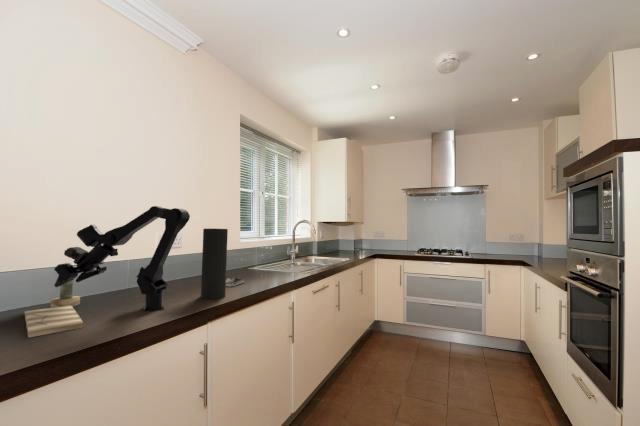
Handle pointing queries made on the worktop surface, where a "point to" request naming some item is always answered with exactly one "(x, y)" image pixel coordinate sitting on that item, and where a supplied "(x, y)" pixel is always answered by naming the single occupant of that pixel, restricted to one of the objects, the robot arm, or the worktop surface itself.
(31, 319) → the birch board
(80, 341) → the worktop surface
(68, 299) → the column on wooden base
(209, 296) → the vase
